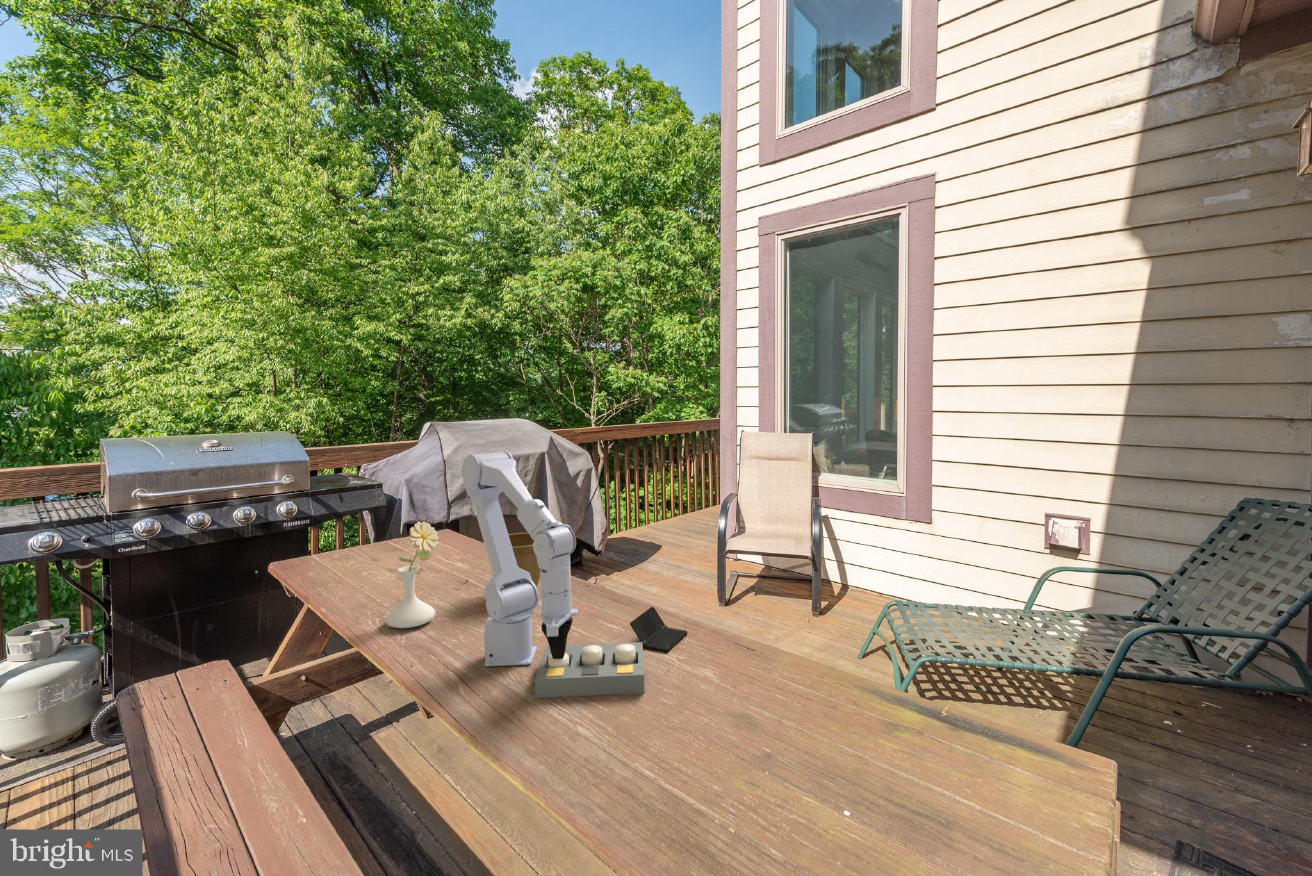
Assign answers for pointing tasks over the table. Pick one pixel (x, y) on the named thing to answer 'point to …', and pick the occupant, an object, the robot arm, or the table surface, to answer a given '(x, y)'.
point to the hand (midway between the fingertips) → (558, 657)
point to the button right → (625, 654)
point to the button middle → (591, 655)
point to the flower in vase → (411, 607)
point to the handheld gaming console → (656, 632)
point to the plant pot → (525, 555)
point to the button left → (558, 661)
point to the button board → (590, 674)
